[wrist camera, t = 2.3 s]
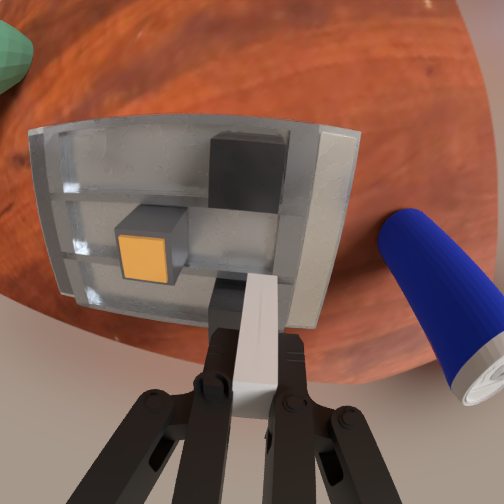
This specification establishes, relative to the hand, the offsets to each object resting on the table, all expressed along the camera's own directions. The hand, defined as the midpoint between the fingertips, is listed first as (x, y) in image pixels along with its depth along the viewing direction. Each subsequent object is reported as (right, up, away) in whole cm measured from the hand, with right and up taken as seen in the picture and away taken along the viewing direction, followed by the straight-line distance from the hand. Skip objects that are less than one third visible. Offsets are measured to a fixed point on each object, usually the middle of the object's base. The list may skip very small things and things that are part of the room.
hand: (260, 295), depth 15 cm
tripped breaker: (-7, +4, +6) cm, 10 cm away
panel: (-7, +5, +7) cm, 11 cm away
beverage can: (+12, +4, +7) cm, 14 cm away
